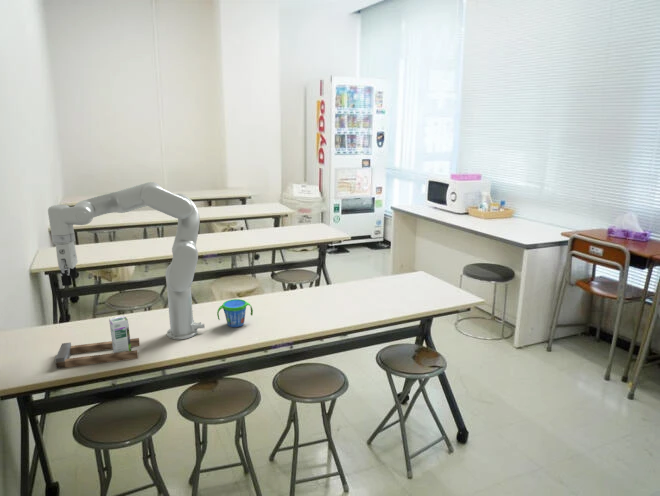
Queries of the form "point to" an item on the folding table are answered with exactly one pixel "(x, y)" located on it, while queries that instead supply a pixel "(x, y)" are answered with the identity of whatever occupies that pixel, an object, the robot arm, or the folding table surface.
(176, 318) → the robot arm
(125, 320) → the syrup box
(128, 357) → the guide channel
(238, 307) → the snack cup
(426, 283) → the folding table surface
